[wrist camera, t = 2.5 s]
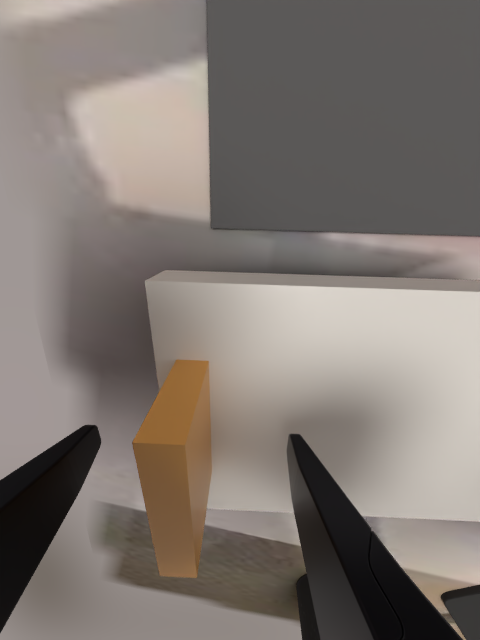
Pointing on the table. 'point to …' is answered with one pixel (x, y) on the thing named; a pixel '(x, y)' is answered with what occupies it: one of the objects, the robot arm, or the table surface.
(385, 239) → the table surface
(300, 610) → the travel mug
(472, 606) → the phone
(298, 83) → the mat
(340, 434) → the lid
